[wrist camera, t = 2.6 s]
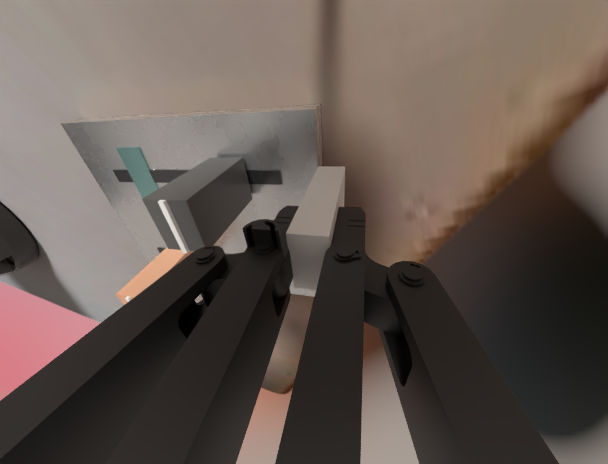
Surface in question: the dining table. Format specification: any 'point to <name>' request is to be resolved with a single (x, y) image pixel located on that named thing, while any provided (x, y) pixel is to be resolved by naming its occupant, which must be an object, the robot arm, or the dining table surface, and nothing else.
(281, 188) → the console
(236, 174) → the fader black
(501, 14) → the dining table surface
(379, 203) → the dining table surface
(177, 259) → the block
